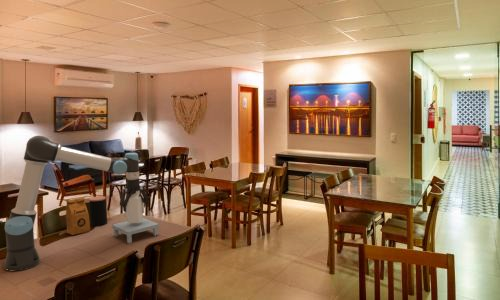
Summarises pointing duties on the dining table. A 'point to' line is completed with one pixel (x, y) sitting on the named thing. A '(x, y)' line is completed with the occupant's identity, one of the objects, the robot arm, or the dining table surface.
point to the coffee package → (77, 216)
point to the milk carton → (134, 208)
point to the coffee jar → (98, 211)
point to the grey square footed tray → (135, 228)
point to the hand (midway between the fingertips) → (134, 214)
